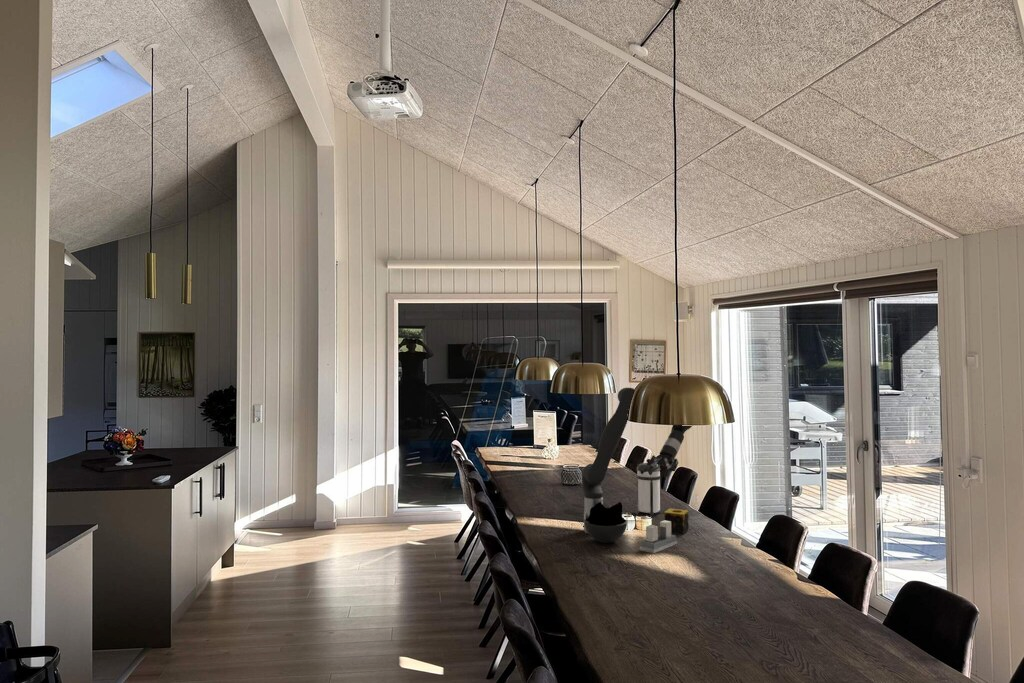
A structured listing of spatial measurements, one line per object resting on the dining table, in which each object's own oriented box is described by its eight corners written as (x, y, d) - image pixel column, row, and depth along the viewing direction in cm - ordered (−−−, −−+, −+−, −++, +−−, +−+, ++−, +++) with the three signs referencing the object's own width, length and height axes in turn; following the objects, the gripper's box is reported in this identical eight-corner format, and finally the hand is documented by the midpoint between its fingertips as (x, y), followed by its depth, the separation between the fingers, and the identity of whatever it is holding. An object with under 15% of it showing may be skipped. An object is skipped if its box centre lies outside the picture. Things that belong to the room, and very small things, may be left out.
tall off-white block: (666, 542, 316) (666, 523, 317) (659, 541, 319) (659, 521, 319) (671, 540, 320) (671, 521, 320) (664, 539, 322) (664, 520, 322)
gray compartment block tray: (653, 553, 306) (653, 529, 306) (639, 550, 311) (639, 526, 311) (677, 543, 320) (677, 521, 320) (663, 541, 325) (663, 518, 325)
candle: (663, 532, 340) (663, 512, 341) (668, 527, 349) (668, 508, 350) (684, 535, 336) (683, 514, 336) (689, 530, 345) (688, 510, 345)
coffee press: (667, 516, 372) (666, 461, 372) (637, 516, 372) (637, 461, 372) (660, 509, 389) (660, 456, 389) (632, 509, 389) (632, 456, 390)
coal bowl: (577, 544, 320) (577, 504, 320) (593, 534, 337) (593, 495, 337) (619, 550, 310) (618, 508, 310) (632, 539, 328) (632, 499, 328)
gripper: (655, 442, 342) (641, 468, 334) (680, 445, 332) (667, 472, 324) (660, 452, 346) (647, 478, 338) (685, 455, 336) (673, 482, 328)
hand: (657, 475), depth 331 cm, fingers open, 8 cm apart
